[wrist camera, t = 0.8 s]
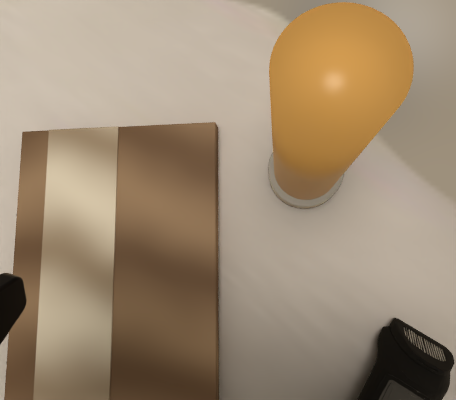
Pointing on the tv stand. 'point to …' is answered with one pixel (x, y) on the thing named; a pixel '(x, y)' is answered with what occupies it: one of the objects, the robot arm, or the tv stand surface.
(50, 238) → the subfloor panel
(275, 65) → the orange rounded post
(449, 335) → the tv stand surface
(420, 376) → the electric trimmer
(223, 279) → the tv stand surface
